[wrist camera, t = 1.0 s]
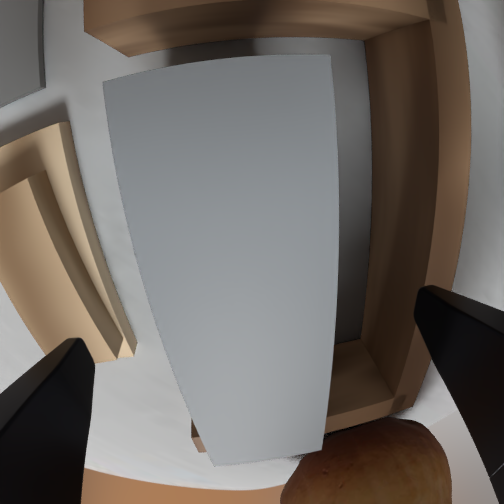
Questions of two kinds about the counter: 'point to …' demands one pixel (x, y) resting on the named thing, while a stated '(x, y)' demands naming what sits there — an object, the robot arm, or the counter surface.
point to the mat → (21, 49)
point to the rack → (383, 158)
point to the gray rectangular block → (237, 240)
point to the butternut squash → (374, 467)
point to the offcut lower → (67, 207)
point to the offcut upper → (50, 273)
